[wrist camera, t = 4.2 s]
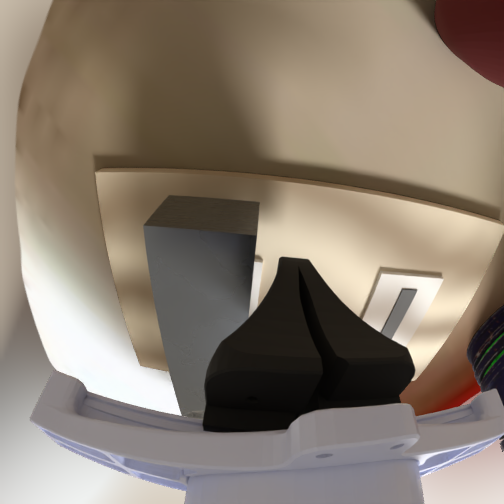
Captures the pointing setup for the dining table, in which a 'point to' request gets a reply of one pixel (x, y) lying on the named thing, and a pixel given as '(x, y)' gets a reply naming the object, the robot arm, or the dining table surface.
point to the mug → (474, 34)
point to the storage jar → (489, 356)
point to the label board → (313, 250)
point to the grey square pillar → (199, 283)
